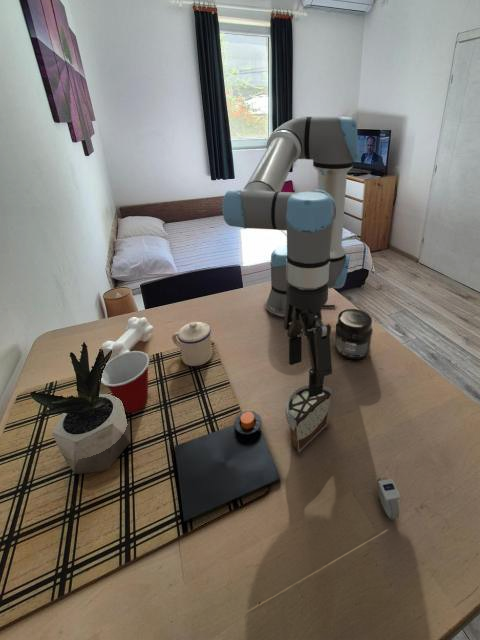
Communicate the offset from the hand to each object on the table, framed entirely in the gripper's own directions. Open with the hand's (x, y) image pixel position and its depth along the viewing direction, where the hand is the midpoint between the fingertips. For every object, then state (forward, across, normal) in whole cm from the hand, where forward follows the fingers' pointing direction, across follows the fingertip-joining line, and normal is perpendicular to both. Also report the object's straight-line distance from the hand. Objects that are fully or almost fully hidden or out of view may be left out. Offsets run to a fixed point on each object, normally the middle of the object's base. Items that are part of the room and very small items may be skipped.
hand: (304, 377), depth 67 cm
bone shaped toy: (+16, +44, +36) cm, 59 cm away
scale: (+15, -1, +18) cm, 24 cm away
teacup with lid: (+16, +35, +19) cm, 43 cm away
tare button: (+13, +4, +11) cm, 18 cm away
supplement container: (+16, +18, -25) cm, 35 cm away
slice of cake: (+16, 0, 0) cm, 16 cm away
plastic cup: (+16, +23, +35) cm, 45 cm away
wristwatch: (+16, -20, -7) cm, 26 cm away
